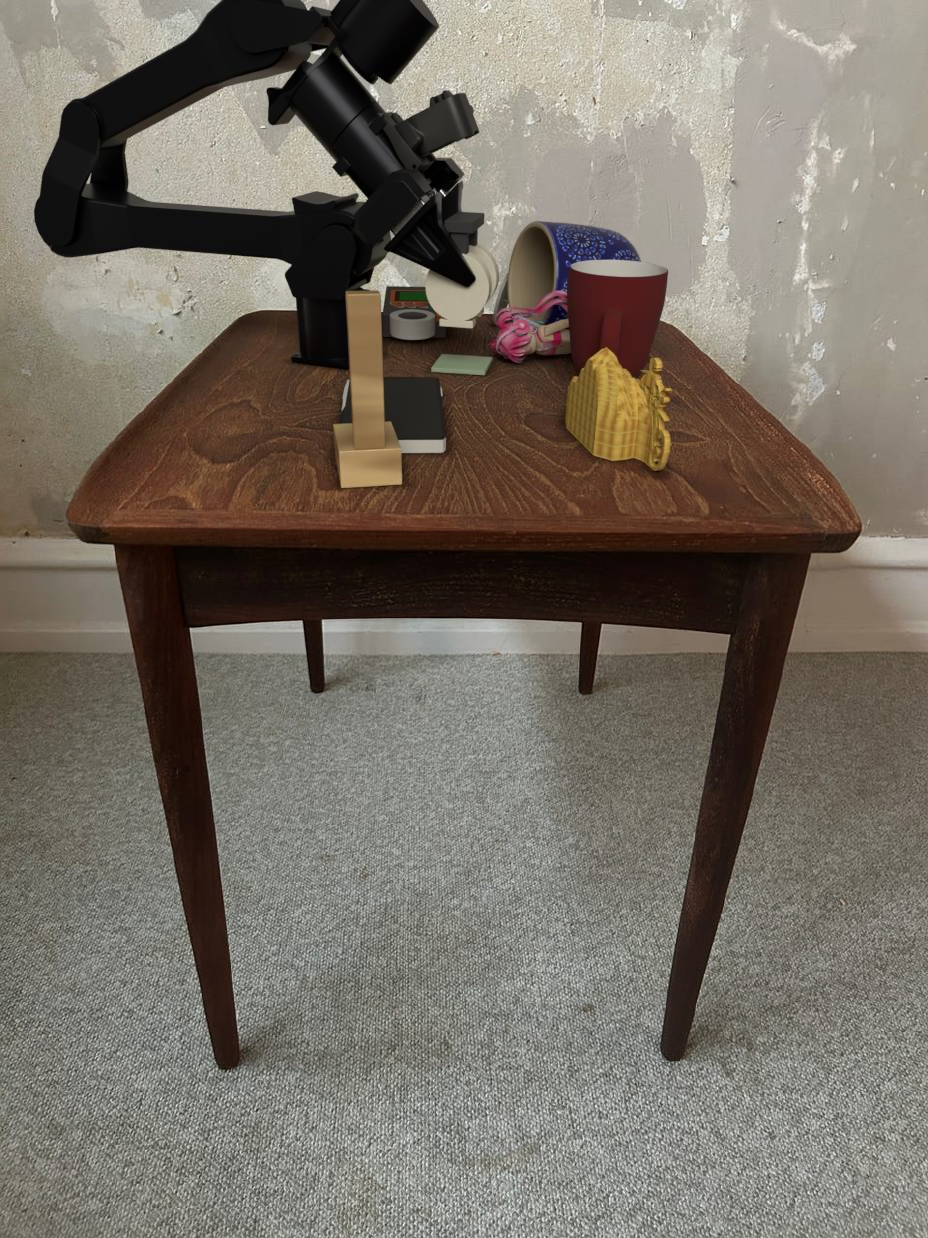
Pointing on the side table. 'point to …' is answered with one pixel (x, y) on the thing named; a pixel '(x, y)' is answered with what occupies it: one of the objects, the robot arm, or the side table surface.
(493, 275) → the headphones
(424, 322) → the electronic device
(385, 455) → the hook stand
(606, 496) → the side table surface
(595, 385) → the figurine
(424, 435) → the smartphone
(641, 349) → the mug
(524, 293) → the planter
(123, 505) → the side table surface
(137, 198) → the robot arm
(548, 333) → the toy
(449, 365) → the felt mat
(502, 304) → the figurine
